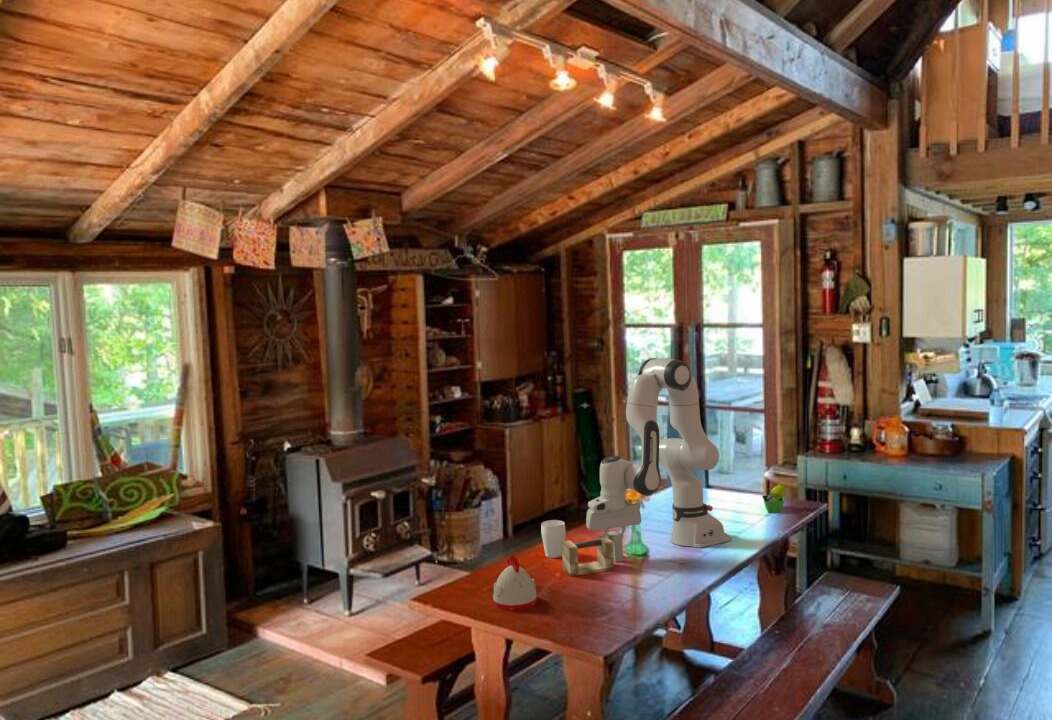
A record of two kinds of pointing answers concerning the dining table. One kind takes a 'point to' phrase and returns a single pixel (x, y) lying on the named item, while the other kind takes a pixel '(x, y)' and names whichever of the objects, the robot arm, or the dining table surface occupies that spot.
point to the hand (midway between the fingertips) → (614, 539)
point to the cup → (553, 537)
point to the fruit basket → (775, 499)
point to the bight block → (617, 546)
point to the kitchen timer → (514, 588)
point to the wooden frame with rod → (601, 565)
